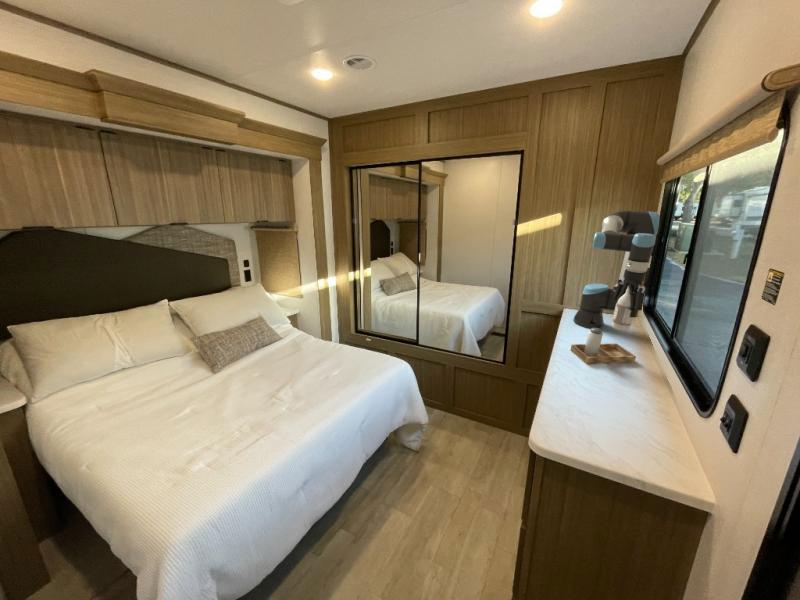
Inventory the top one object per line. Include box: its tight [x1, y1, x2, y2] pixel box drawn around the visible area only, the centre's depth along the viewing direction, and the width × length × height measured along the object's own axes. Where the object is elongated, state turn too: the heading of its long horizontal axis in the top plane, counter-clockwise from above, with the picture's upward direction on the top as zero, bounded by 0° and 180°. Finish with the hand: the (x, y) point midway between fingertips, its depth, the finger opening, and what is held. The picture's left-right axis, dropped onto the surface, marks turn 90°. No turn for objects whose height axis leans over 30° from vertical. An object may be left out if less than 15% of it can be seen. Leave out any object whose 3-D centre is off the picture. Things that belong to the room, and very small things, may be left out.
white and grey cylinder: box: [584, 328, 604, 357], centre depth 150 cm, size 6×6×13 cm
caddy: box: [570, 342, 637, 365], centre depth 152 cm, size 23×13×3 cm, turn 94°
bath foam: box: [611, 286, 634, 332], centre depth 145 cm, size 7×7×20 cm
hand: (622, 319), depth 147 cm, fingers closed on bath foam, 7 cm apart
